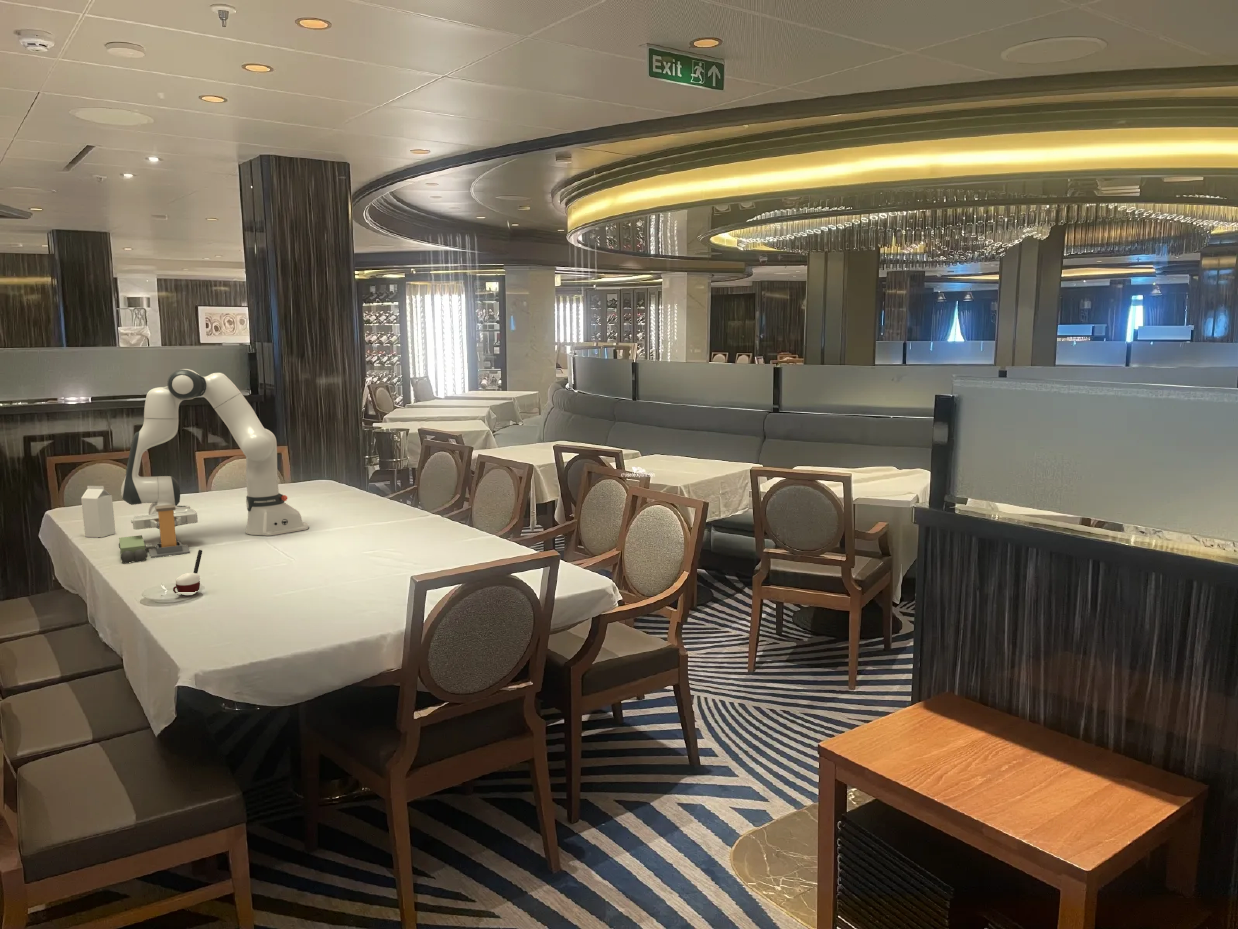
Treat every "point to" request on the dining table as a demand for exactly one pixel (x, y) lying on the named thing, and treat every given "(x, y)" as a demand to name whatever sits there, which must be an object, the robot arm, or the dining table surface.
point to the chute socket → (169, 550)
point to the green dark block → (132, 549)
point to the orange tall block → (166, 525)
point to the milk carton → (98, 512)
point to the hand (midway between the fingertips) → (167, 524)
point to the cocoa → (189, 579)
